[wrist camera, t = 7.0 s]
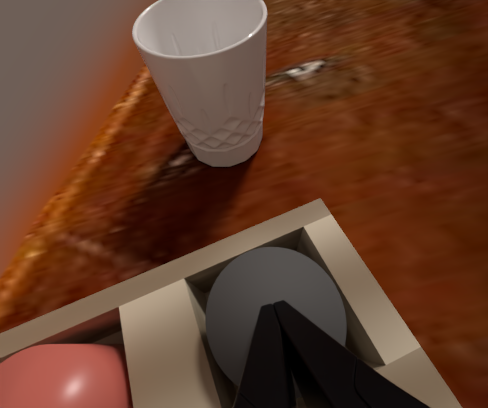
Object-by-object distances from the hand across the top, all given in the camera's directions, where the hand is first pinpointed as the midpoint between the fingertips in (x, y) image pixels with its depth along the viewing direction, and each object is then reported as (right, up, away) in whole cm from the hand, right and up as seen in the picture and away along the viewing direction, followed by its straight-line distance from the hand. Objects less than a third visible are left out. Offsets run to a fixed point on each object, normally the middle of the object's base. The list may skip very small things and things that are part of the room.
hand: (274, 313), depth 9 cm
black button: (0, -2, +4) cm, 5 cm away
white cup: (-3, +10, +15) cm, 18 cm away
